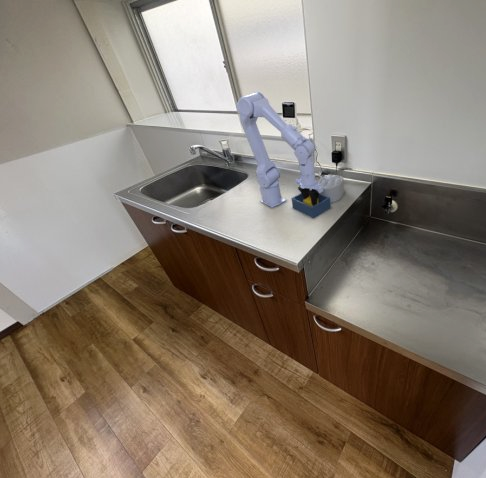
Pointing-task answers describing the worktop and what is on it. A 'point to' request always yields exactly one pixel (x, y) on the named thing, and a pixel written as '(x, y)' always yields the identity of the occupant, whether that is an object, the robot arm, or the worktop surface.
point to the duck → (309, 201)
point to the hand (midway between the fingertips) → (310, 202)
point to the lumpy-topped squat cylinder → (332, 186)
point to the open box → (308, 210)
